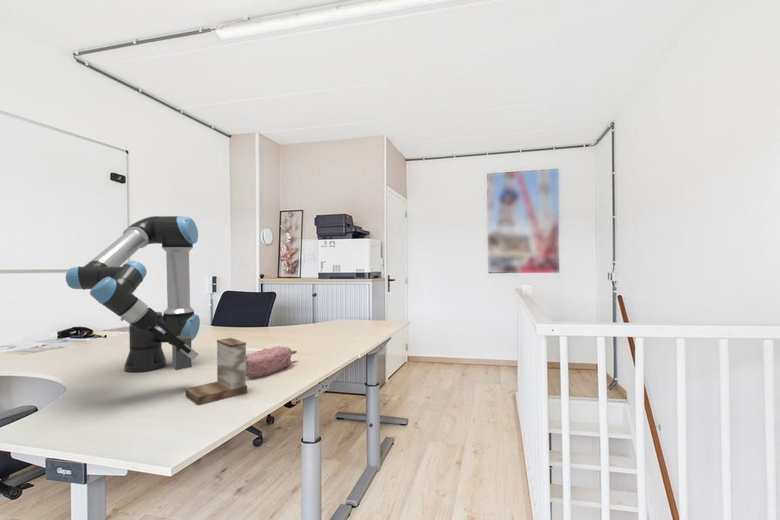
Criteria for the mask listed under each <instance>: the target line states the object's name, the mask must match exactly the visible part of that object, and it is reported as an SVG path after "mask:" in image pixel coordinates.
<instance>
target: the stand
mask: <svg viewBox="0 0 780 520" xmlns="http://www.w3.org/2000/svg"><path fill="white" fill-rule="evenodd" d="M246 347H247V342H245V341H243V340H239V339H236V338H234V337H228V338H221V339H217V340H216V348H217V349H216V350H217V351H216V356H217V358H216V360H217V362H216V367H217V368H216V369H217V370H216V371H217V373H216V375H217V376H216V377H217V380H216V381H214V382H209V383H205V384H198V385H196V386H190V387H185V389H184V390H185V394H184V395H186V396H187V397H186V396H185V397H186V398H187V399H188V400H190V399H191V400H190V401H192V402H193V403H194V402H195V404H196V405H198V406H199V405H201V406H202V405H205V404H208V403H213V402H216V401H220V399H221V400H224V398H225V399H228V397H229V398H232V396H233V397H236V395H237V396H240V394H241V395H244V394H247V393H248V385H247V377H246V354H247V353H246V352H247V348H246Z"/></svg>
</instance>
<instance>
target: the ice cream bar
mask: <svg viewBox="0 0 780 520" xmlns="http://www.w3.org/2000/svg"><path fill="white" fill-rule="evenodd" d="M295 354H297V350H292V349H291V348H290V347H288V346H285V347H284V346H283V345H282V346H276V347H275V346H274V347H270V348H263V349H262V350H258V351H254V352H251V353H246V378H249V379H255V378H257V377H260V376H267V375H269V374H274V373H276V372H277V371H278V370H281V369H283V368H287V367H289V366H290V365H291V362H292V360H291V358H292V355H295Z"/></svg>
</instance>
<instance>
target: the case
mask: <svg viewBox="0 0 780 520" xmlns="http://www.w3.org/2000/svg"><path fill="white" fill-rule="evenodd" d="M176 337H178V338H179V339H180V340H181V341H183V342H185V344H186V345H188V346H189V347H190V348H192V341H191V336H190V335H181V336H176ZM171 346H172V350H171V351H172V353H171V354H172V355H171V356H172V357H171V358H172V360H171V361H172V369H174V370H176V371H179V370H184V369H190V368H192V366H193V365H192V364H193V363H192V361H193V360H192V359H191V358H189V357H188V356H187V355H185V354H184V353H183V352H181V351H180V350H179V351H177V347H175V346H174V345H173V344H172V345H171Z"/></svg>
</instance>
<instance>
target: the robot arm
mask: <svg viewBox="0 0 780 520" xmlns="http://www.w3.org/2000/svg"><path fill="white" fill-rule="evenodd" d="M198 240H199V231H198V227H197V223H195V221H194V219H192V218H191V217H189V216H182V215H178V216H177V215H176V216H175V215H173V216H171V215H170V216H167V215H166V216H165V215H164V216H163V215H162V216H161V215H160V216H159V215H156V216H155V215H153V216H147V217H145V218H143V219H142V218H141V219H140V220H137V221H136V222H134V223H132V224H131V225H129V226H127V228H125V229H124V230H123V232H122V235H120V237H119V238H117V239H116V240H115V241H113V242H112V243H111V244H110V245H109V246H107V247H106V248H105V249H104V250H103V251H101V252H100V253H99V254H97V255H96V256H95V257H93V259H92V260H90V261H89V262H88V263H86V264H85V265H83V266H74V267H70V268H69V269H68V270H67V272H66V274H65V282H66V285H67V286H68V287H69V288H70V289H73V290H83V291H84V290H90V291H89V295H90V296H91V297H92V298H93V299H94V300H95V301H97V302H98V303H99V304H101V305H102V306H103V307H105V308H106V309H107V310H110V311H111V312H113V314H115V315H116V316H118V317H120V321H121V322H123V321H125V322H126V323H127V324H129V326H128V331H129V332H128V333H129V352H128V355H127V357H126V360H125V364H124V371H125V372H128V373H141V372H142V373H144V372H150V371H155V370H159V369H163V368H164V367H167V359H166V356H165V353H164V349H163V348H162V347H163V346H162V344H163V343H164V344H165V343H168V345H171V346H172V344H173V345H174V346H175V347H177V351H179V350H180V351H181V352H183V353H184V354H185V355H187V356H188V357H189V358H191V361H195V359H197V357H198V356H199V355H200V354H199V352H197V351H196V350H194V349H193V348H192V347H191V348H190V347H189V346H188V345H186V344H185V342H183V341H181V340H180V339H179V338H178V337H176V336H181V335H190V336H191V342H193V340H194V339H195V338H196V337H197V335H198V333H199V331H200V324H201V319H200V316H199V315H198V314H195V310H194V309H193V308H192V306H191V289H190V288H191V284H190V280H191V279H190V251H192V249H193V248H194V247H193V246H194V244H196V243H198ZM153 244H155V245H156V244H161V249H163V251H164V252H165V256H166V259H165V260H166V294H167V295H166V297H167V298H166V300H167V308H166V309H165V310H164V311H163V313H162V312H161V311H155V310H154V309H152V308H151V307H149V306H148V304H146V303H145V302H144V301H142V300H141V299H140V298H138V297H137V296H135V294H134V292H135V291H136V290H137V289H138V287H139V286H140V285H141V283H142V282H143V281H144V279H145V277H146V276H147V274H148V273H147V268H146V267H145V265H144V264H143V263H141V262H140V261H137V260H129V258H131V257H132V256H133V255H134V254H135V253H136V252H137V251H138V250H139V249H143V248H145V247H147V246H148V245H153ZM127 260H128V261H127ZM126 261H127V262H126Z"/></svg>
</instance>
